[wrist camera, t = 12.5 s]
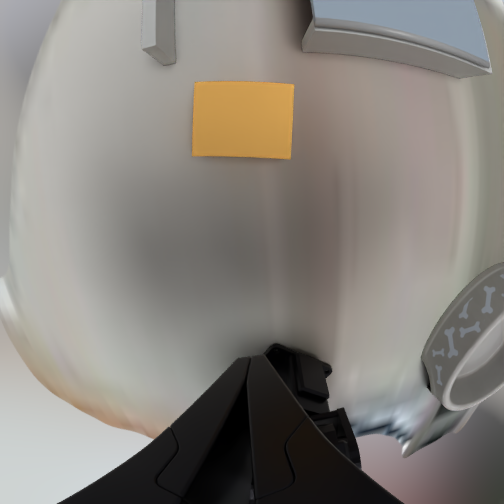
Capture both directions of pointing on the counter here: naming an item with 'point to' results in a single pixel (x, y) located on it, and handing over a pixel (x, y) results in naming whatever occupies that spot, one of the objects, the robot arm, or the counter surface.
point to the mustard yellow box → (242, 119)
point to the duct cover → (411, 23)
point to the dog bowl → (469, 344)
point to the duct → (314, 44)
